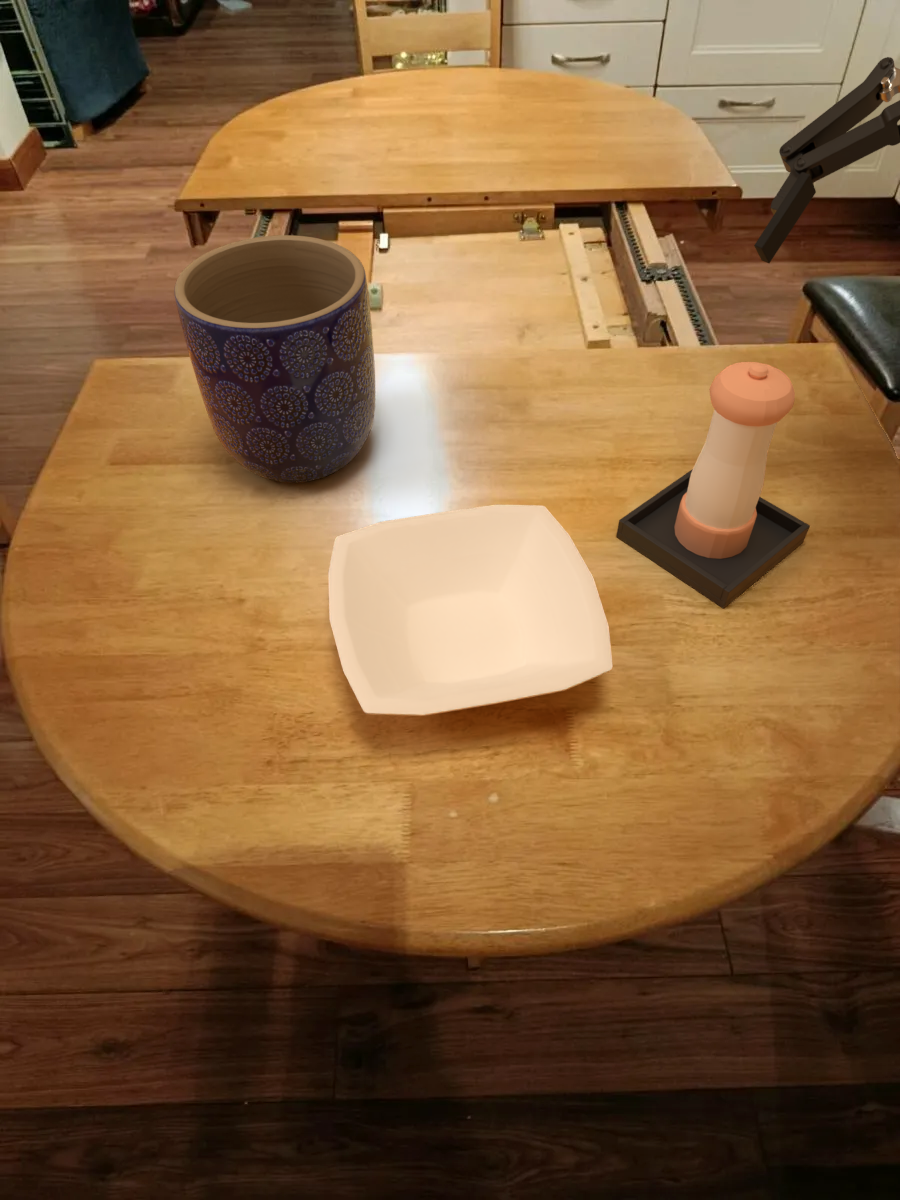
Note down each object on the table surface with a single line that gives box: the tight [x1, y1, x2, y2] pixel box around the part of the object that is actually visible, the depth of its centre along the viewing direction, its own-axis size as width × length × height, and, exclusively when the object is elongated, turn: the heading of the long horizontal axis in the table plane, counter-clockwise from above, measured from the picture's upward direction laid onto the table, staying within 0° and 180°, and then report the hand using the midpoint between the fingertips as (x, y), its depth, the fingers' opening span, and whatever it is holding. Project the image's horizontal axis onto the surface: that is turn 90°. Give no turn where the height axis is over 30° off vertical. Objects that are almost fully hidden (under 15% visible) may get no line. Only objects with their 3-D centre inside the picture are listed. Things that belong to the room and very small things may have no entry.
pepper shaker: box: [674, 361, 796, 559], centre depth 78 cm, size 7×7×19 cm
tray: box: [615, 468, 811, 609], centre depth 85 cm, size 13×13×2 cm
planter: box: [173, 234, 376, 483], centre depth 88 cm, size 18×18×21 cm
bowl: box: [327, 503, 614, 717], centre depth 75 cm, size 22×23×6 cm
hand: (834, 284), depth 67 cm, fingers open, 13 cm apart
